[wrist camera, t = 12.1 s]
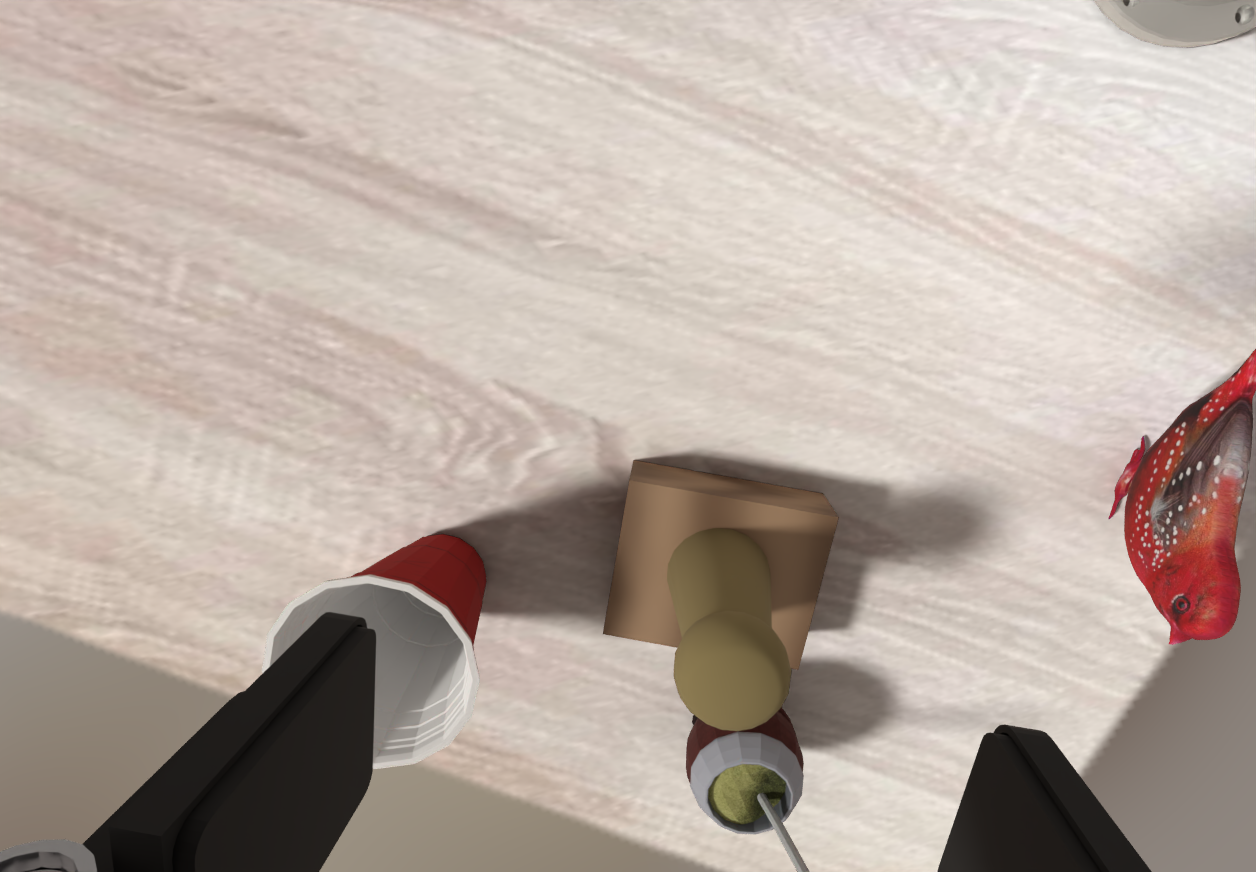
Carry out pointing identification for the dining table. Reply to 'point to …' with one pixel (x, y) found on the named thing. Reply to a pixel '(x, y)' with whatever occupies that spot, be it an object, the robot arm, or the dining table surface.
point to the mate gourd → (748, 777)
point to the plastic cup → (407, 641)
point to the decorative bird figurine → (1192, 509)
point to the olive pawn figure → (726, 631)
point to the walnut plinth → (698, 501)
